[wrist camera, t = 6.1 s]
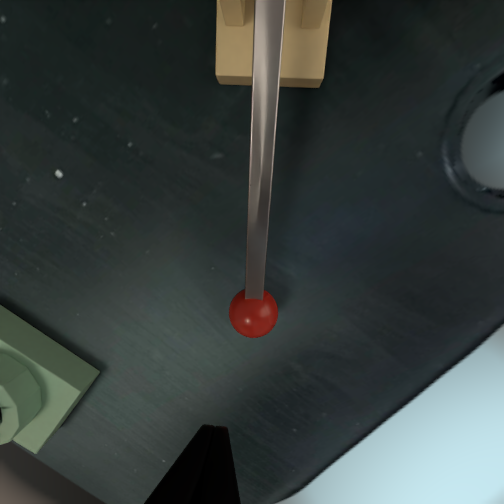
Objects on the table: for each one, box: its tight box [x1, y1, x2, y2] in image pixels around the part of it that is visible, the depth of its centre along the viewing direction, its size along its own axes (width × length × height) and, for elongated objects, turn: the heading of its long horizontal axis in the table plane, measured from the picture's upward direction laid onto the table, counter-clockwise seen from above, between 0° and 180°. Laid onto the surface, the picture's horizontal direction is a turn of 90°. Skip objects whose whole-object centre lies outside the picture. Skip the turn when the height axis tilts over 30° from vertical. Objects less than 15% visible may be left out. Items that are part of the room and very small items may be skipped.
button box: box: [0, 305, 100, 454], centre depth 18 cm, size 10×8×4 cm
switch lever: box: [229, 0, 286, 338], centre depth 11 cm, size 22×3×3 cm, turn 177°
